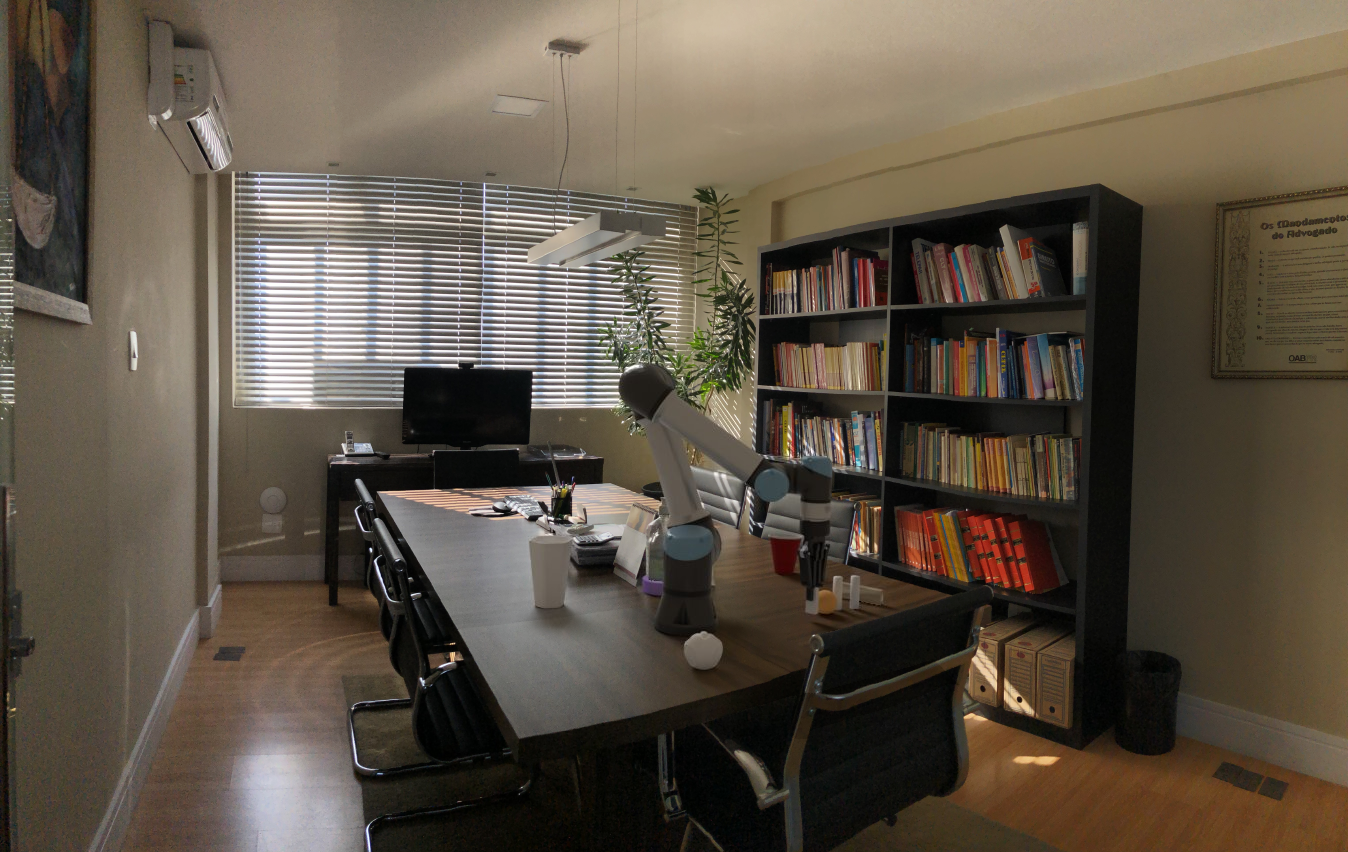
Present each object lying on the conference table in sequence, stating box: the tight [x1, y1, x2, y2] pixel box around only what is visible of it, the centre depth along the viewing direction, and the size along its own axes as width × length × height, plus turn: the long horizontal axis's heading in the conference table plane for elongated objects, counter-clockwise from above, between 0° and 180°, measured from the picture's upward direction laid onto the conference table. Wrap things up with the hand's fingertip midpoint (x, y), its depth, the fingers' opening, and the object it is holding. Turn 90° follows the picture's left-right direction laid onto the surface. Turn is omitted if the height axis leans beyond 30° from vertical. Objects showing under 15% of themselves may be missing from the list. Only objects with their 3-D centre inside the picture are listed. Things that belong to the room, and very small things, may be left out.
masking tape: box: [642, 574, 663, 597], centre depth 225 cm, size 12×12×4 cm
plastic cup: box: [767, 533, 804, 576], centre depth 250 cm, size 11×11×12 cm
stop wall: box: [831, 581, 884, 606], centre depth 220 cm, size 2×14×4 cm, turn 52°
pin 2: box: [849, 574, 861, 610], centre depth 212 cm, size 2×2×8 cm
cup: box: [528, 534, 574, 610], centre depth 206 cm, size 11×10×17 cm
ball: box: [818, 589, 837, 615], centre depth 206 cm, size 6×6×6 cm
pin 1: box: [832, 575, 844, 611], centre depth 210 cm, size 2×2×8 cm
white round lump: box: [683, 631, 724, 671], centre depth 164 cm, size 8×8×8 cm
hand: (811, 612), depth 199 cm, fingers closed
